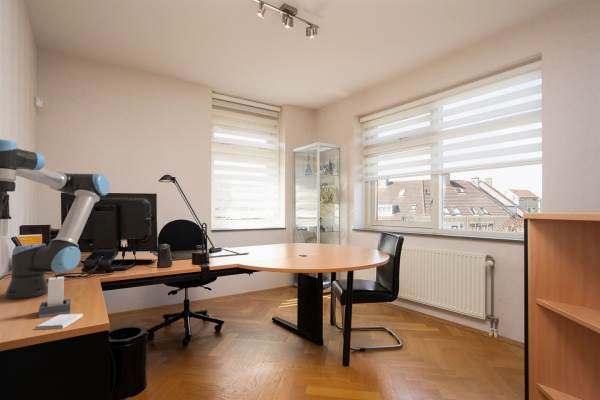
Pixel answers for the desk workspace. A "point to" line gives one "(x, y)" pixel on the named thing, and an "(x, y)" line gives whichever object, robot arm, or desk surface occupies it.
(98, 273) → the desk surface
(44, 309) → the socket dock
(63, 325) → the hard drive
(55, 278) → the block
